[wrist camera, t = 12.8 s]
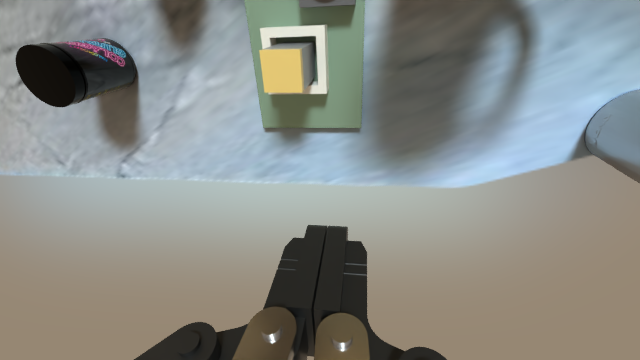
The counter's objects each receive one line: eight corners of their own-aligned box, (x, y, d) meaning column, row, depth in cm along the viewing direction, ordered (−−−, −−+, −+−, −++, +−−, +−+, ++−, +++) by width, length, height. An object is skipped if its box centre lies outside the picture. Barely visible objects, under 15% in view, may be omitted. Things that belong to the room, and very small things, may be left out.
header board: (367, -81, 30) (367, -95, 26) (361, 125, 40) (360, 137, 37) (238, -68, 32) (219, -80, 28) (265, 124, 42) (255, 136, 39)
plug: (314, 41, 35) (299, 49, 27) (315, 76, 37) (302, 92, 29) (282, 42, 35) (259, 50, 28) (285, 76, 37) (264, 92, 30)
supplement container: (147, 70, 41) (86, 86, 32) (122, 96, 43) (58, 118, 34) (108, 26, 39) (31, 30, 30) (84, 56, 41) (5, 68, 32)
